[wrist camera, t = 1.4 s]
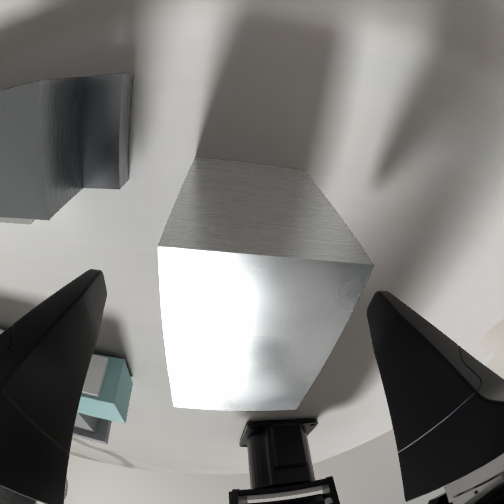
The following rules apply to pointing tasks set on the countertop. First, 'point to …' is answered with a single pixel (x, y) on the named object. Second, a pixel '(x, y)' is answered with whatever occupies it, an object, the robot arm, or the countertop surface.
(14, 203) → the gray curved slab
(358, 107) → the countertop surface
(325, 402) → the countertop surface
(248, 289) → the block
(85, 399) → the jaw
